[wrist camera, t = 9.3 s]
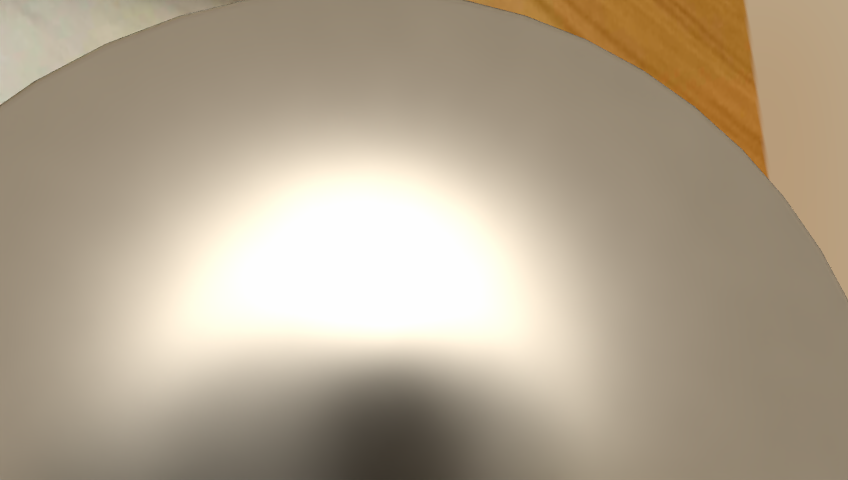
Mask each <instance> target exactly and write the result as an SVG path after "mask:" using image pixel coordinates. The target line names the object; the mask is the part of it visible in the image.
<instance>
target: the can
mask: <svg viewBox="0 0 848 480" xmlns="http://www.w3.org/2000/svg"><path fill="white" fill-rule="evenodd" d="M0 480H848V299H847V297H846V296H845V294H844V292H843V290H842V288H841V286H840V284H839V283H838V281H837V279H836V277H835V275H834V274H833V271H832V270H831V268H830V266H829V264H828V262H827V260H826V259H825V257H824V255H823V253H822V251H821V250H820V248H819V247H818V245H817V244H816V242H815V241H814V239H813V238H812V237H811V235H810V234H809V232H808V231H807V229H806V228H805V226H804V225H803V224H802V222H801V221H800V219H799V218H798V216H797V215H796V213H795V212H794V211H793V209H792V208H791V206H790V205H789V204H788V202H787V201H786V199H785V198H784V197H783V195H782V194H781V193H780V192H779V191H778V190H777V189H776V188H775V187H774V185H773V184H772V183H771V182H770V181H769V179H768V178H767V177H766V176H765V175H764V174H763V173H762V171H761V170H760V169H759V168H758V167H757V166H756V165H755V164H754V162H753V161H752V160H751V159H750V158H749V157H748V156H747V154H746V153H745V152H744V151H743V150H742V149H741V148H740V147H739V146H738V145H737V144H735V143H734V142H733V141H732V140H731V139H730V138H729V137H728V136H727V135H725V134H724V133H723V132H722V131H721V130H720V129H719V128H718V127H717V126H715V125H714V124H713V123H712V122H711V121H710V120H709V119H708V118H707V117H705V116H704V115H703V114H702V113H701V112H700V111H699V110H698V109H697V108H695V107H694V106H693V105H691V104H690V103H689V102H687V101H686V100H684V99H683V98H681V97H680V96H679V95H677V94H676V93H674V92H673V91H672V90H670V89H669V88H667V87H666V86H665V85H663V84H662V83H660V82H659V81H657V80H656V79H655V78H653V77H652V76H650V75H649V74H648V73H646V72H645V71H643V70H642V69H640V68H638V67H636V66H634V65H632V64H630V63H629V62H627V61H625V60H623V59H621V58H619V57H617V56H616V55H614V54H612V53H610V52H608V51H606V50H605V49H603V48H601V47H599V46H597V45H595V44H593V43H592V42H590V41H588V40H586V39H583V38H581V37H578V36H576V35H573V34H571V33H568V32H566V31H563V30H561V29H558V28H555V27H553V26H550V25H548V24H545V23H543V22H540V21H538V20H535V19H532V18H530V17H527V16H525V15H521V14H517V13H513V12H509V11H505V10H501V9H497V8H493V7H490V6H486V5H482V4H478V3H474V2H470V1H466V0H243V1H239V2H235V3H231V4H227V5H222V6H218V7H214V8H210V9H206V10H202V11H198V12H194V13H190V14H186V15H181V16H178V17H175V18H173V19H170V20H167V21H165V22H162V23H159V24H157V25H154V26H151V27H149V28H146V29H144V30H141V31H138V32H136V33H133V34H130V35H128V36H125V37H122V38H120V39H117V40H114V41H112V42H109V43H107V44H105V45H103V46H101V47H99V48H97V49H95V50H93V51H91V52H89V53H87V54H86V55H84V56H82V57H80V58H78V59H76V60H74V61H72V62H70V63H68V64H66V65H65V66H63V67H61V68H59V69H57V70H55V71H53V72H51V73H49V74H47V75H46V76H44V77H42V78H40V79H38V80H36V81H34V82H33V83H31V84H30V85H28V86H27V87H26V88H24V89H23V90H21V91H20V92H18V93H17V94H16V95H14V96H13V97H11V98H10V99H8V100H7V101H5V102H4V103H3V104H1V105H0Z"/></svg>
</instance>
